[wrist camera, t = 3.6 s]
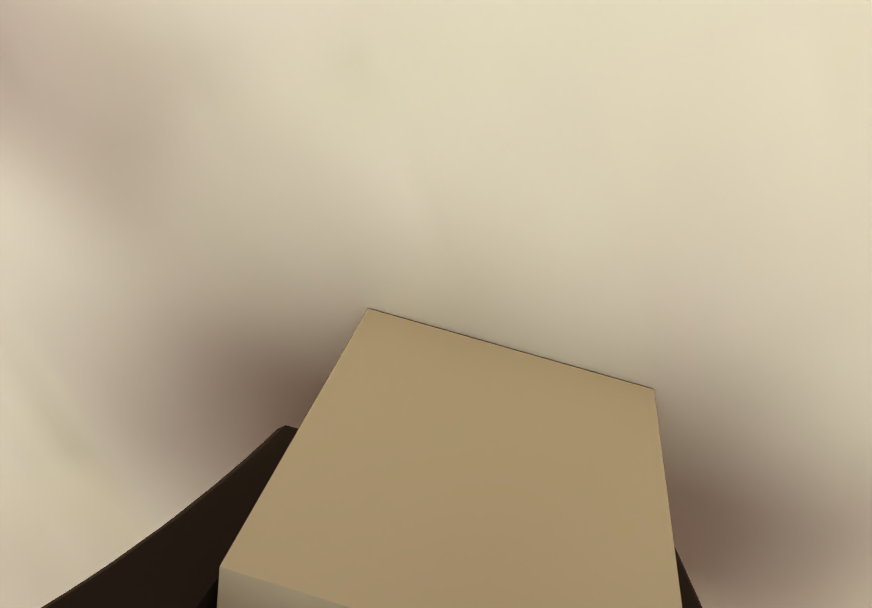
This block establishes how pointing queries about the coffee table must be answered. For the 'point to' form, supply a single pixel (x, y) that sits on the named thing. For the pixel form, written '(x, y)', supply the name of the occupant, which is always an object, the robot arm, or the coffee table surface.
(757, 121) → the coffee table surface
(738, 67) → the coffee table surface
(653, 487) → the beige block
